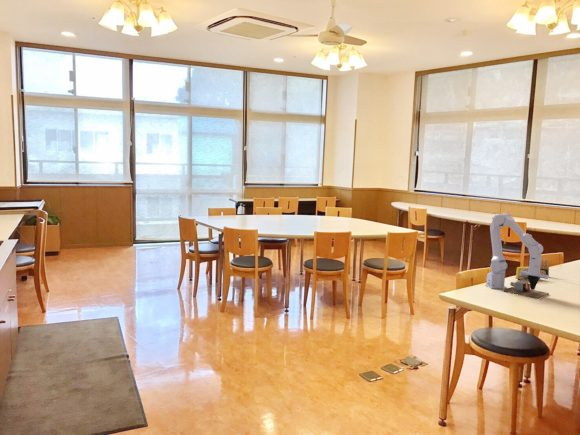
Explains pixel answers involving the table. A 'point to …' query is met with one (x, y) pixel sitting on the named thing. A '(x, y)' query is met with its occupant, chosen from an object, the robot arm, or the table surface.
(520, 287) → the bearing housing
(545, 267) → the ammunition clip
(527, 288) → the shaft
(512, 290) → the base plate
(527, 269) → the candy box
